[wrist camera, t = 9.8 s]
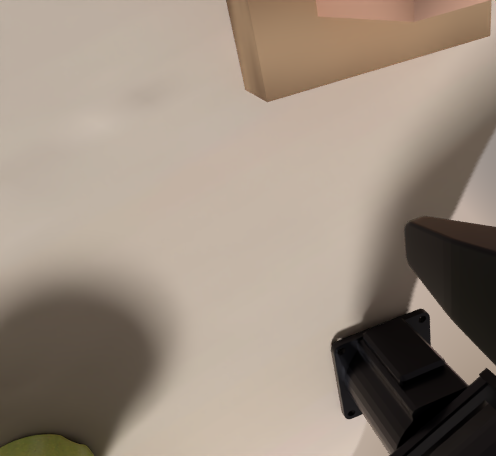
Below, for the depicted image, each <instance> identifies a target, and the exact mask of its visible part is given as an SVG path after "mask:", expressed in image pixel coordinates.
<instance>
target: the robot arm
mask: <svg viewBox="0 0 496 456" xmlns="http://www.w3.org/2000/svg"><path fill="white" fill-rule="evenodd" d="M404 234H405V250H406V258H407V261H408V264H409V265H410V267H411V268H412V270H413V271H414V272H415V274H416V275H417V276H418V277H419V279H420V280H421V281H422V283H423V284H424V285H425V286H426V288H427V289H428V290H429V291H430V293H431V294H432V295H433V297H434V298H435V299H436V301H437V302H438V303H439V305H440V306H441V307H442V308H443V310H444V311H445V312H446V313H447V315H448V316H449V317H450V318H451V319H452V320H453V322H454V323H455V324H456V325H457V326H458V327H459V328H460V329H461V330H462V331H463V332H464V333H465V334H466V335H467V336H468V337H469V338H470V339H471V341H472V342H473V343H474V344H475V345H476V346H478V348H479V349H480V350H481V351H482V352H483V353H484V354H485V355H486V356H487V357H488V358H489V359H490V360H491V361H492V362H493V363H494V364H495V365H496V227H492V226H485V225H480V224H473V223H467V222H460V221H454V220H447V219H441V218H434V217H428V216H422V217H419V218H416V219H413V220H411V221H408V222H407V223H406V224H405V227H404ZM420 317H421V318H420ZM341 348H342V349H341ZM339 349H341V350H339ZM331 352H332V358H333V364H334V370H335V375H336V381H337V387H338V393H339V398H340V404H341V410H342V413H343V415H344V416H345V418H347V419H352V418H354V417H357V416H359V415H361V414H363V415H364V417H365V418H366V420H367V421H368V423H369V424H370V426H371V427H372V428H373V430H374V432H375V433H376V435H377V436H378V438H379V439H380V440H381V442H382V444H383V445H384V447H385V448H386V450H387V451H388V453H389V454H390V455H389V456H496V376H495V375H494V374H493V373H492V372H491V371H490V370H488V369H487V368H486V369H485V370H484V371H482V372H481V373H480V374H479V375H480V377H478V378H477V379H476V380H475V381H474V382H473V383H472V384H471V385H467V384H466V382H465V381H464V380H463V379H462V378H461V377H460V376H459V375H458V374H457V373H456V372H455V371H454V370H453V369H452V368H451V367H450V366H449V365H447V363H446V362H445V360H444V359H443V358H442V357H441V356H440V355H439V354H438V353H437V352H436V351H435V350H434V349H433V348H432V347H431V343H430V317H429V314H428V313H427V312H426V311H425V310H423V309H418V310H415V311H413V312H410V313H408V314H405V315H403V316H400V317H398V318H395V319H393V320H390V321H388V322H385V323H382V324H380V325H377V326H375V327H372V328H370V329H367V330H365V331H362V332H360V333H357V334H354V335H352V336H349V337H347V338H344V339H342V340H339V341H337V342H335V343H334V344H333V345H332V347H331Z"/></svg>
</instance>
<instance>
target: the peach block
mask: <svg viewBox="0 0 496 456" xmlns="http://www.w3.org/2000/svg"><path fill="white" fill-rule="evenodd" d="M486 1H489V0H316V6H317V13H318V17H335V18H352V19H370V20H388V21H406V22H416V21H420V20H423V19H427V18H430V17H434V16H437V15H440V14H444V13H447V12H451V11H454V10H458V9H461V8H465V7H468V6H472V5H475V4H479V3H482V2H486Z"/></svg>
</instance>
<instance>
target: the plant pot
mask: <svg viewBox="0 0 496 456" xmlns="http://www.w3.org/2000/svg"><path fill="white" fill-rule="evenodd" d="M0 456H94V455H93V453H92V452H91V450H90V449H89V448H88V447H87V446H86V445H84V444H77V443H75V442H72V441H70V440H68V439H66V438H64V437H63V436H61V435H54V434H42V435H34V436H29V437H25V438H22V439H19V440H15V441H13V442H11V443H8V444H6V445H5V446H3V447H1V448H0Z"/></svg>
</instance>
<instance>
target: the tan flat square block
mask: <svg viewBox="0 0 496 456" xmlns="http://www.w3.org/2000/svg"><path fill="white" fill-rule="evenodd" d="M226 2H227V6H228V11H229V16H230V20H231V25H232V29H233V34H234V39H235V43H236V48H237V53H238V57H239V62H240V67H241V71H242V76H243V81H244V85H245V90H247V91H249V92H250V93H252V94H254V95H256V96H258V97H259V98H261V99H263V100H265V101H266V102H269V101H273V100H276V99H279V98H283V97H286V96H290V95H293V94H296V93H300V92H303V91H306V90H310V89H313V88H316V87H320V86H323V85H327V84H330V83H333V82H337V81H340V80H343V79H347V78H350V77H353V76H357V75H360V74H363V73H367V72H370V71H374V70H377V69H380V68H384V67H387V66H390V65H394V64H397V63H400V62H404V61H407V60H411V59H414V58H417V57H421V56H424V55H427V54H431V53H434V52H437V51H441V50H444V49H448V48H451V47H454V46H458V45H461V44H464V43H468V42H471V41H474V40H478V39H481V38H484V37H488V36H490V25H491V0H489V1H486V2H482V3H479V4H475V5H472V6H468V7H465V8H461V9H458V10H454V11H451V12H447V13H444V14H440V15H437V16H434V17H430V18H427V19H423V20H420V21H416V22H406V21H388V20H370V19H352V18H335V17H318V13H317V6H316V0H226Z"/></svg>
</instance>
